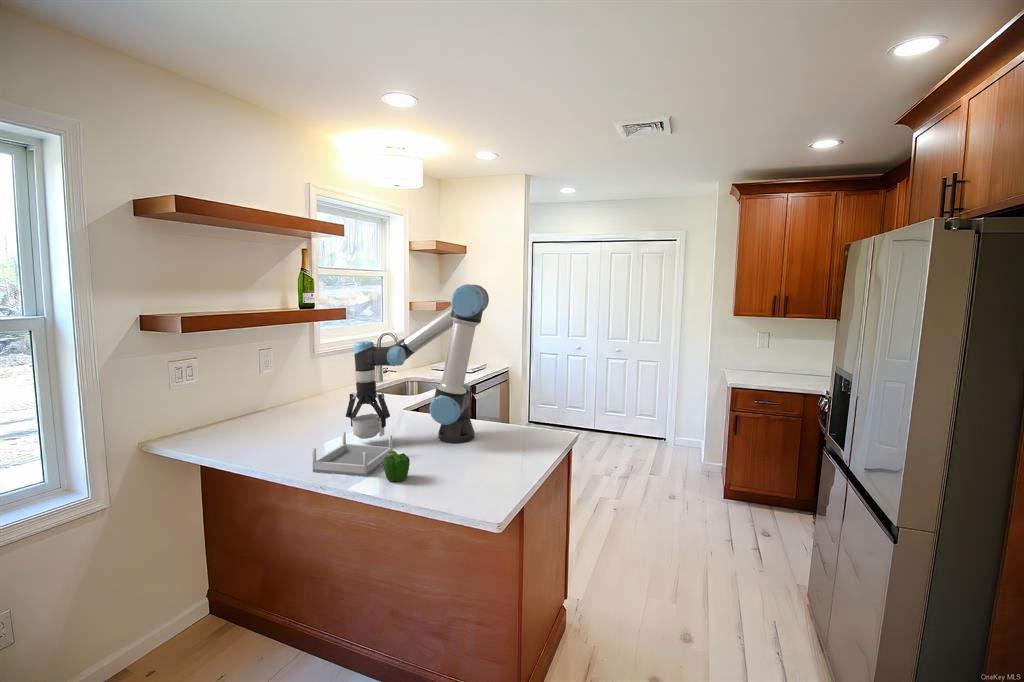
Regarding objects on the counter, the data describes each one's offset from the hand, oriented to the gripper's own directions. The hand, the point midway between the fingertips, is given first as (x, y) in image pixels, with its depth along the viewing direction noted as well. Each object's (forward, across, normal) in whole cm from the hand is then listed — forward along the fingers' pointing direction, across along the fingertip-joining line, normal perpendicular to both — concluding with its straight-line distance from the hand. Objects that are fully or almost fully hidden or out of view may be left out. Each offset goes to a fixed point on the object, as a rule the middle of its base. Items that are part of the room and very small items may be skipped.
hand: (368, 434), depth 199 cm
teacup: (0, 0, 0) cm, 0 cm away
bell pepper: (+5, -26, +31) cm, 41 cm away
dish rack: (+4, -5, +21) cm, 22 cm away
